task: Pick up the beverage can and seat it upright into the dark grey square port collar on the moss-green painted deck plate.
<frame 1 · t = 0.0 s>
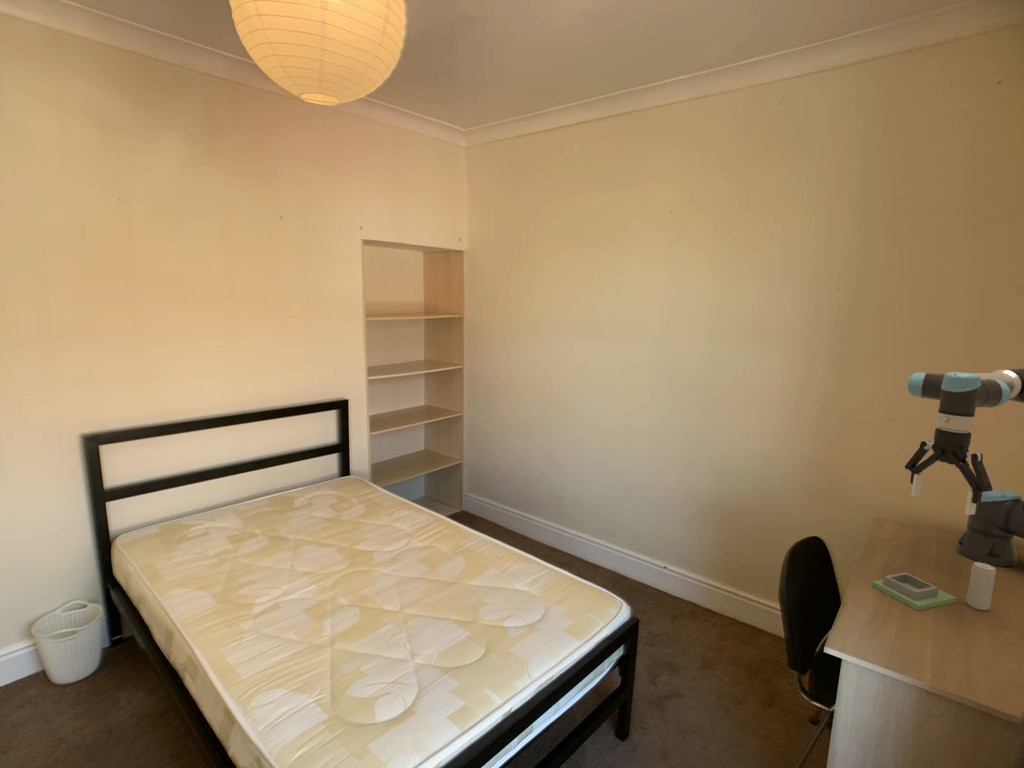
hand: (941, 504, 142), 28 cm above the table, fingers open, 13 cm apart
beverage can: (977, 607, 143), on the table
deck: (912, 594, 148), on the table
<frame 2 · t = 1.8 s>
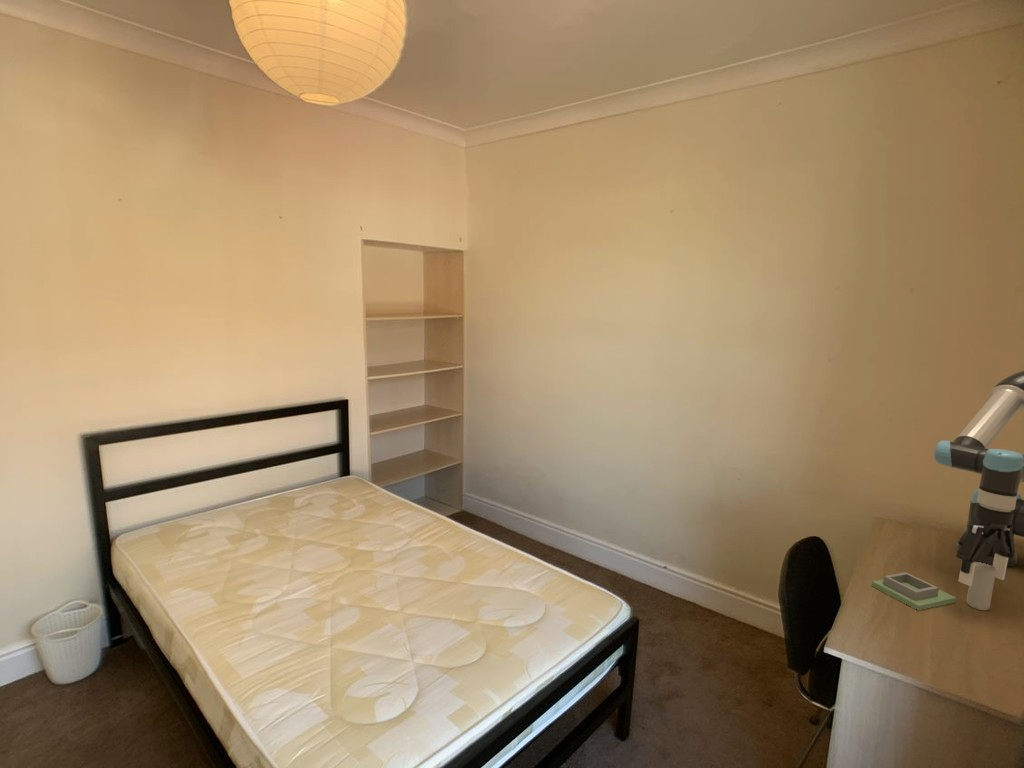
hand: (981, 580, 141), 8 cm above the table, fingers open, 13 cm apart
nothing on the table moved.
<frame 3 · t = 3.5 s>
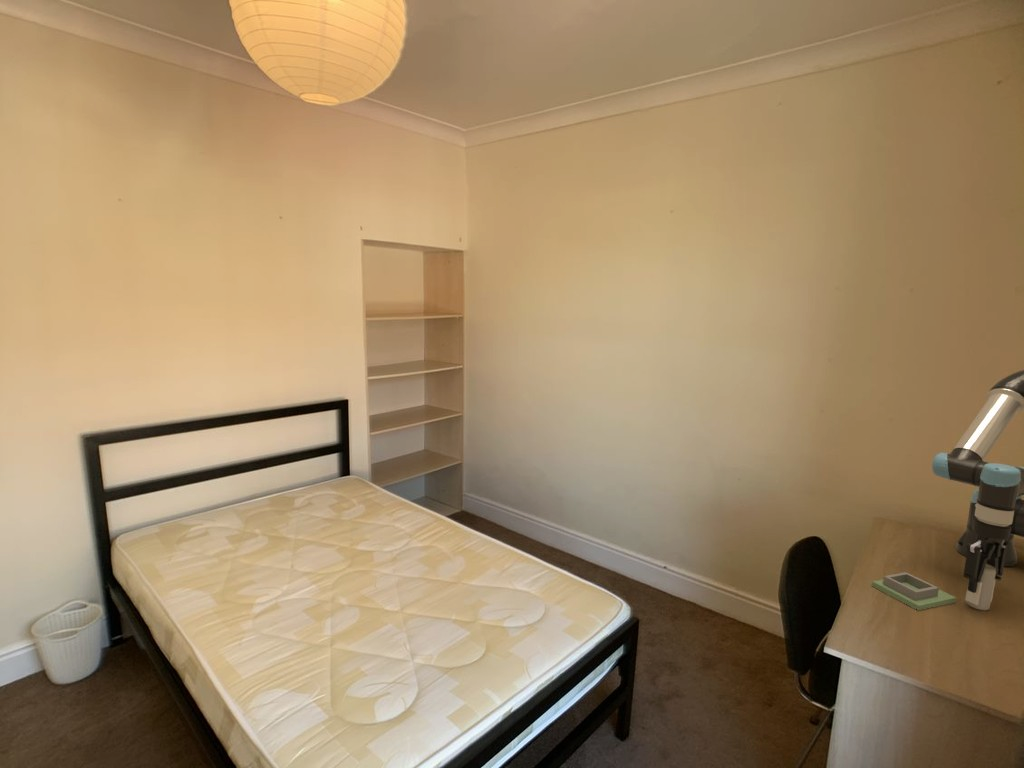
hand: (978, 600, 142), 2 cm above the table, fingers closed on beverage can, 5 cm apart
beverage can: (977, 607, 143), on the table, touching gripper
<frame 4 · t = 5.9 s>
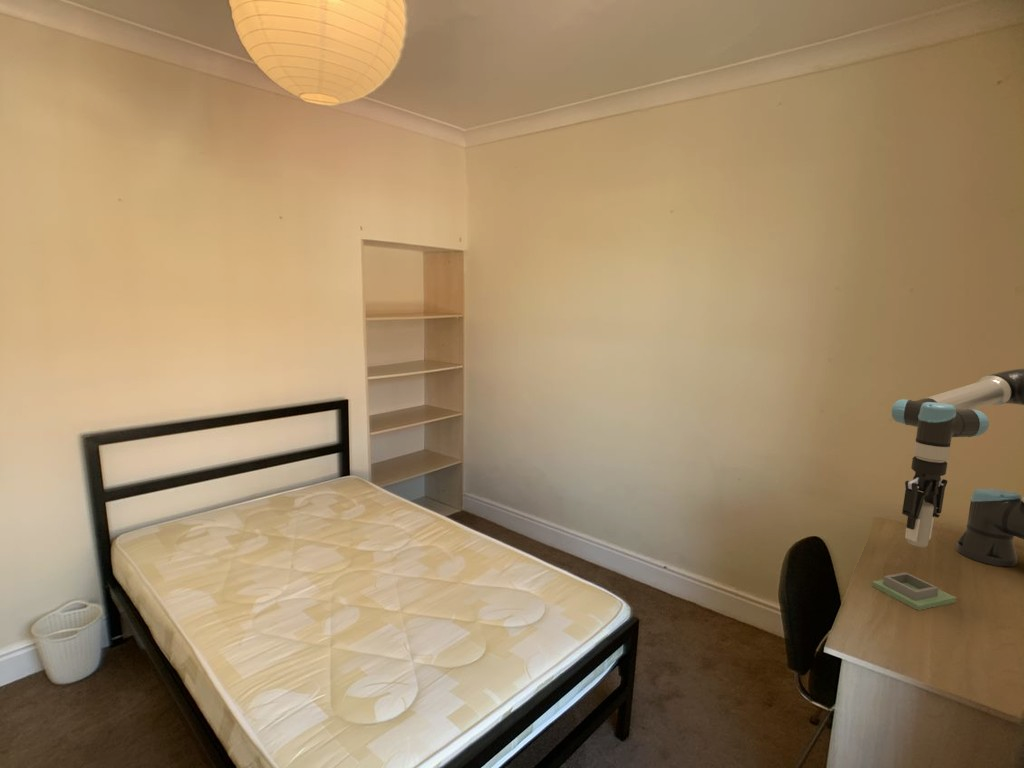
hand: (917, 538, 145), 17 cm above the table, fingers closed on beverage can, 5 cm apart
beverage can: (916, 544, 145), point 15 cm above the table, touching gripper
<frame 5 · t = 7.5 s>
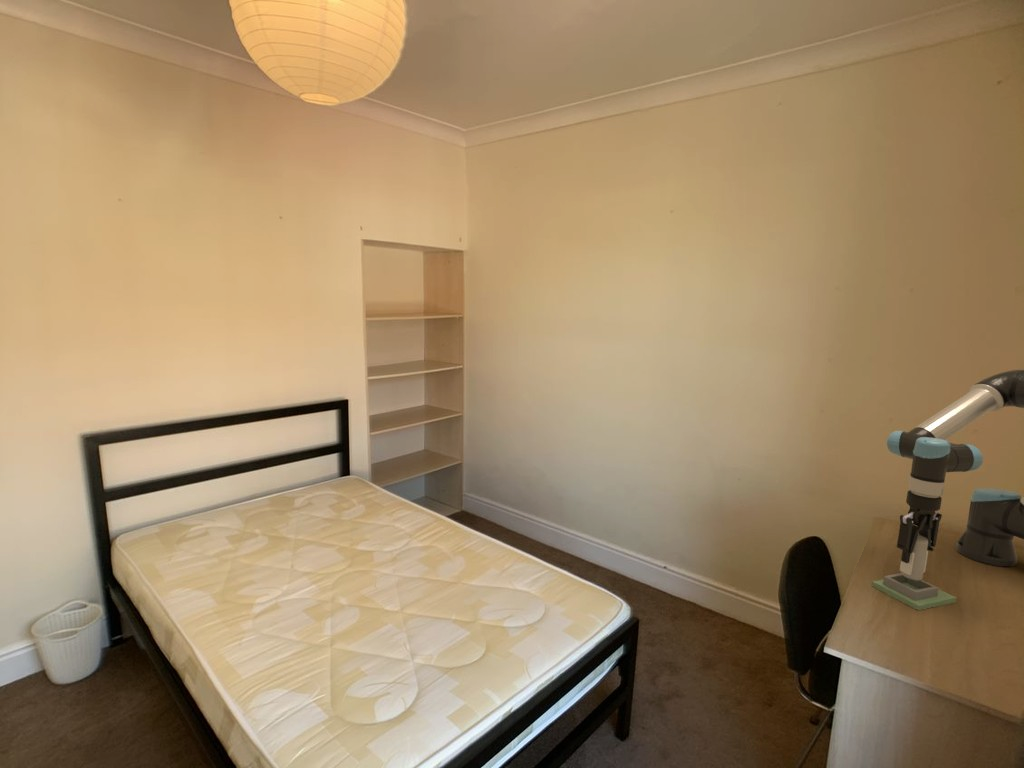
hand: (912, 571, 146), 7 cm above the table, fingers closed on beverage can, 5 cm apart
beverage can: (911, 577, 147), point 5 cm above the table, touching gripper
when the fingers open (5 cm above the table, at t = 8.7 s): beverage can drops 2 cm, resting on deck.
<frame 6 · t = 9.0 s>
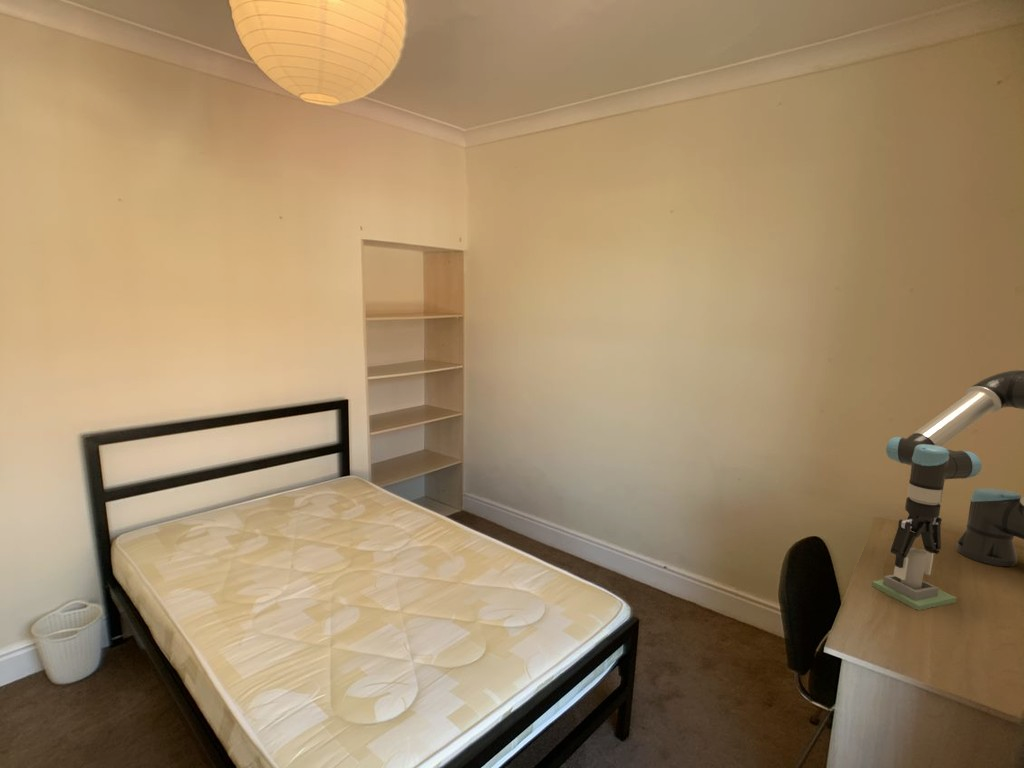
hand: (911, 575, 147), 6 cm above the table, fingers open, 9 cm apart
beverage can: (909, 590, 147), point 1 cm above the table, touching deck
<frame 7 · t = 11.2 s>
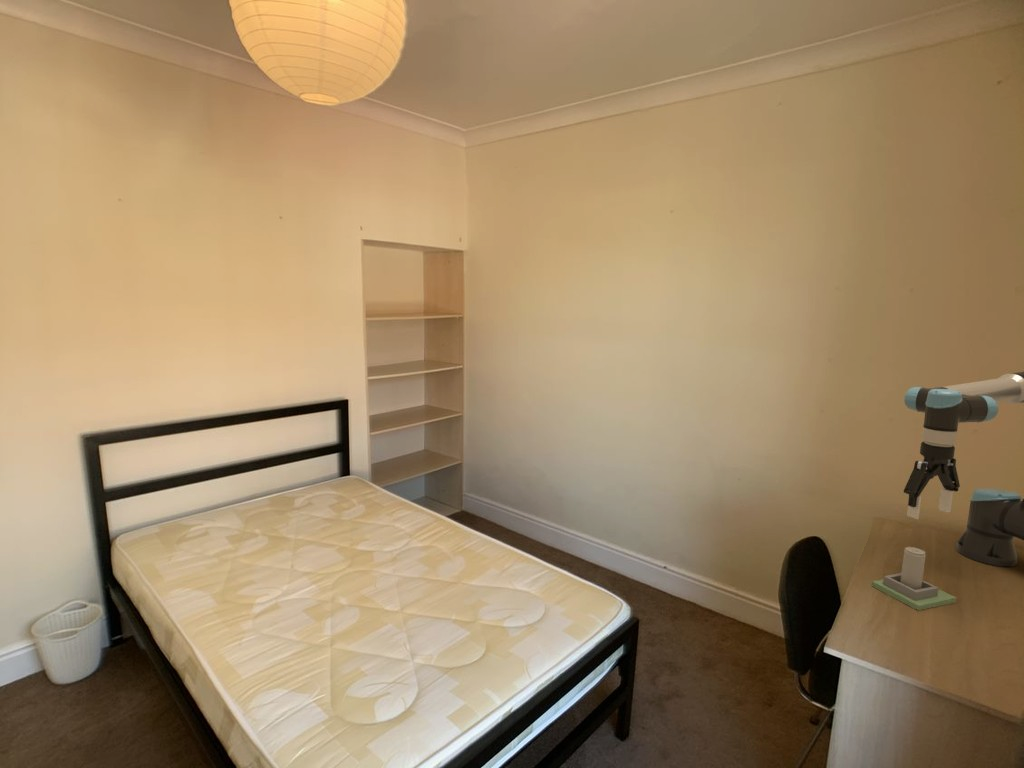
hand: (928, 514, 150), 22 cm above the table, fingers open, 13 cm apart
nothing on the table moved.
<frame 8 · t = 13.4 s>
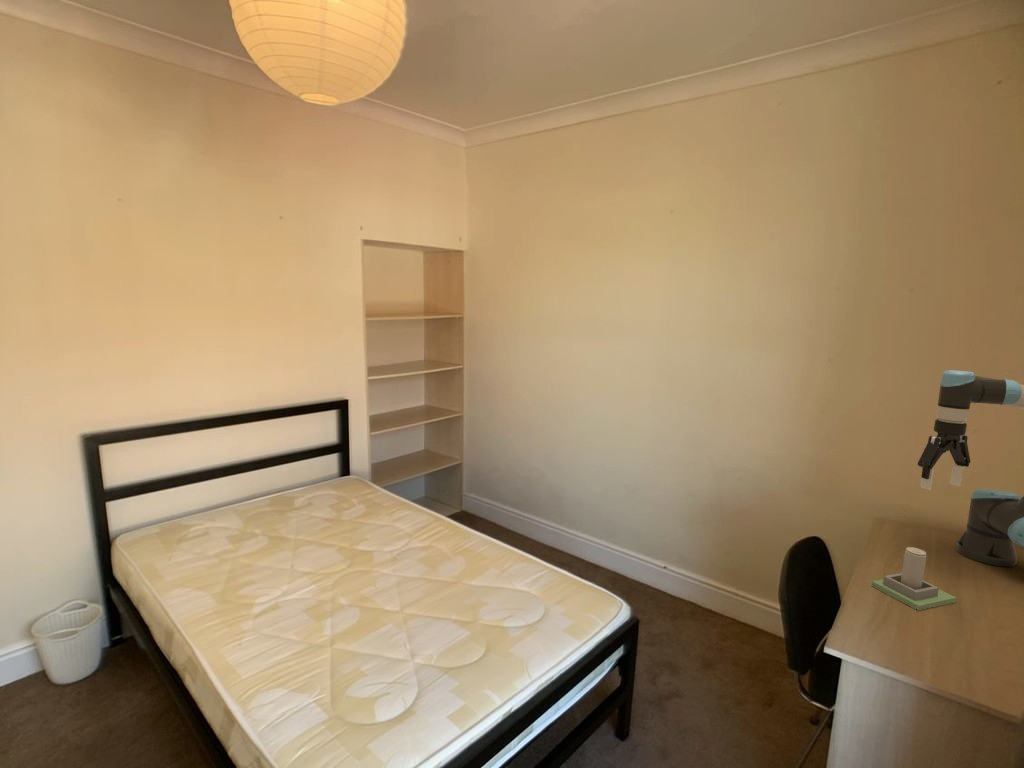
hand: (940, 487, 161), 27 cm above the table, fingers open, 13 cm apart
nothing on the table moved.
at the end: beverage can 0.1 cm from the target spot on the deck, point 1.3 cm above the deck's base; beverage can tilted 0°; the gripper is holding nothing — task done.
